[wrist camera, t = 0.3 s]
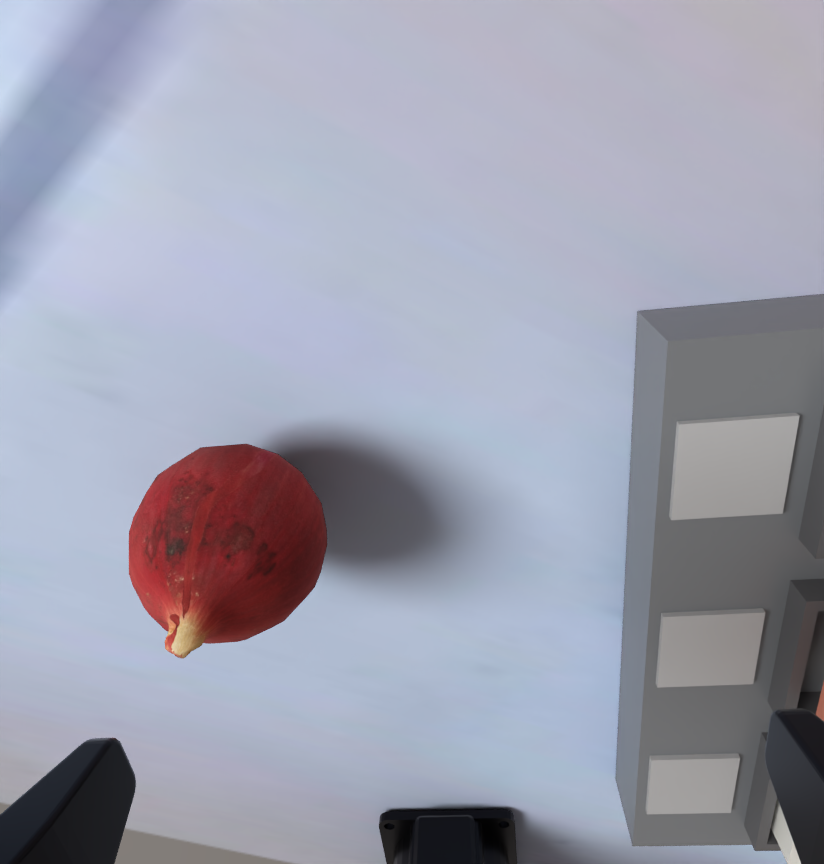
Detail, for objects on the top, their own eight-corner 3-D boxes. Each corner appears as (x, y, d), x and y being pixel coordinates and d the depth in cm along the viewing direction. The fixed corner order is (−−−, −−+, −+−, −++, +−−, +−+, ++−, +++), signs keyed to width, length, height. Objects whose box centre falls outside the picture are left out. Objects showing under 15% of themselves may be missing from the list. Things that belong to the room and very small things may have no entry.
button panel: (893, 772, 28) (959, 868, 24) (615, 778, 29) (639, 871, 25) (1061, 272, 18) (1211, 308, 15) (637, 311, 19) (680, 353, 16)
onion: (162, 415, 22) (23, 558, 15) (324, 396, 21) (260, 536, 14) (210, 551, 24) (111, 729, 17) (355, 537, 24) (315, 717, 17)
